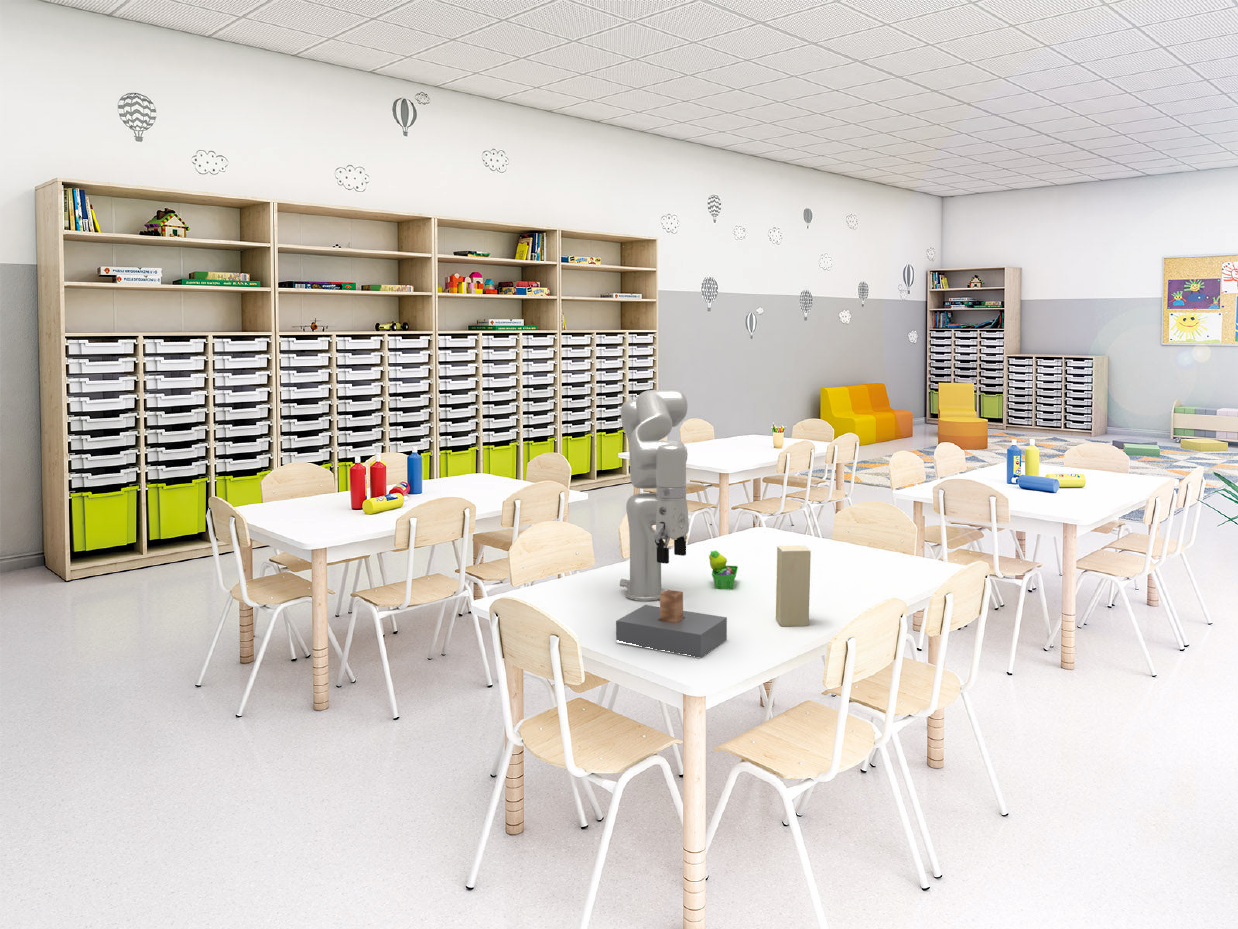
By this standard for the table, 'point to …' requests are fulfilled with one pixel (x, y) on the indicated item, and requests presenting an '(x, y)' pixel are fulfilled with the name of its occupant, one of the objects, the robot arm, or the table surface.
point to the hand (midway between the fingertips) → (671, 558)
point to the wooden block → (671, 606)
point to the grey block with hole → (672, 631)
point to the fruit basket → (722, 571)
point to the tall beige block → (793, 585)
